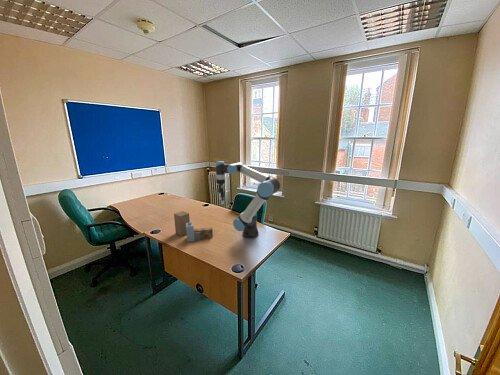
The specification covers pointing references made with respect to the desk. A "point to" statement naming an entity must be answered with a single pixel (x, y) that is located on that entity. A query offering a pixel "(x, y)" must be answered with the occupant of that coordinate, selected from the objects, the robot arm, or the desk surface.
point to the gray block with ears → (191, 232)
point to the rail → (205, 232)
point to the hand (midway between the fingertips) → (221, 201)
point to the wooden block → (181, 222)
